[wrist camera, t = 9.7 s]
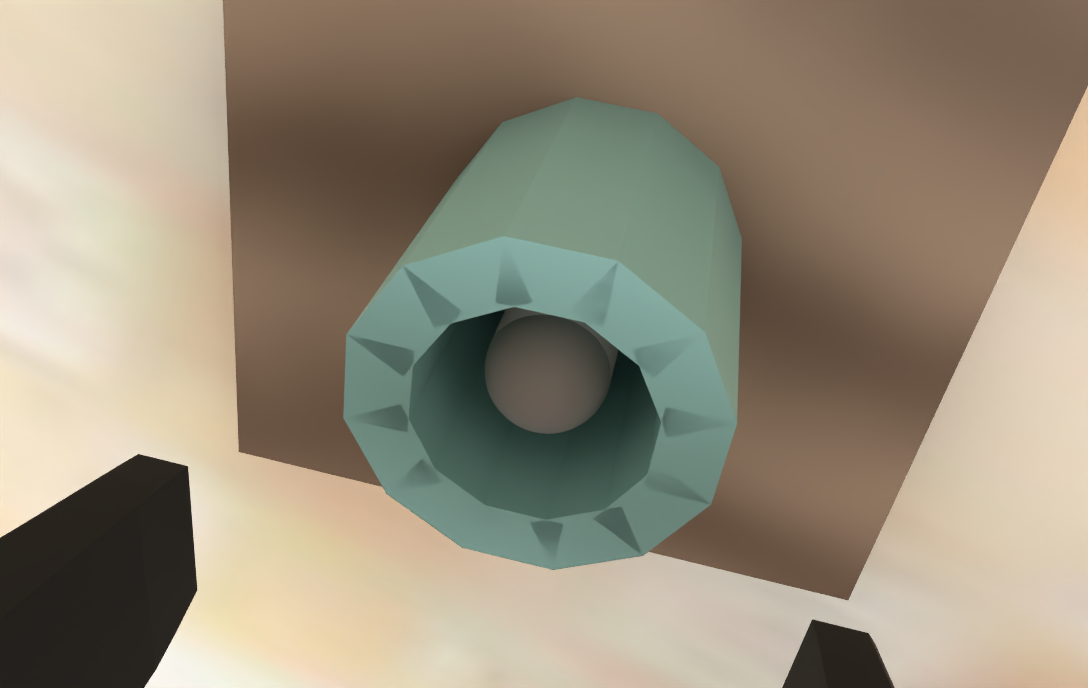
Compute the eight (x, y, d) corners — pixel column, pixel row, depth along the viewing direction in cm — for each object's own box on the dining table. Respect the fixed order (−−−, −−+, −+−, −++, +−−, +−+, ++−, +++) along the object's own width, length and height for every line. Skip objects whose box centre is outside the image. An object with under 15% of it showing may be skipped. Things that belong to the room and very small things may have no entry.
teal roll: (698, 389, 20) (680, 601, 15) (441, 330, 20) (339, 517, 15) (771, 136, 17) (778, 295, 12) (467, 74, 17) (351, 202, 12)
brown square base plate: (844, 569, 23) (872, 819, 18) (256, 427, 24) (112, 621, 19) (1146, -100, 15) (1370, -19, 10) (242, -265, 16) (-19, -277, 11)
